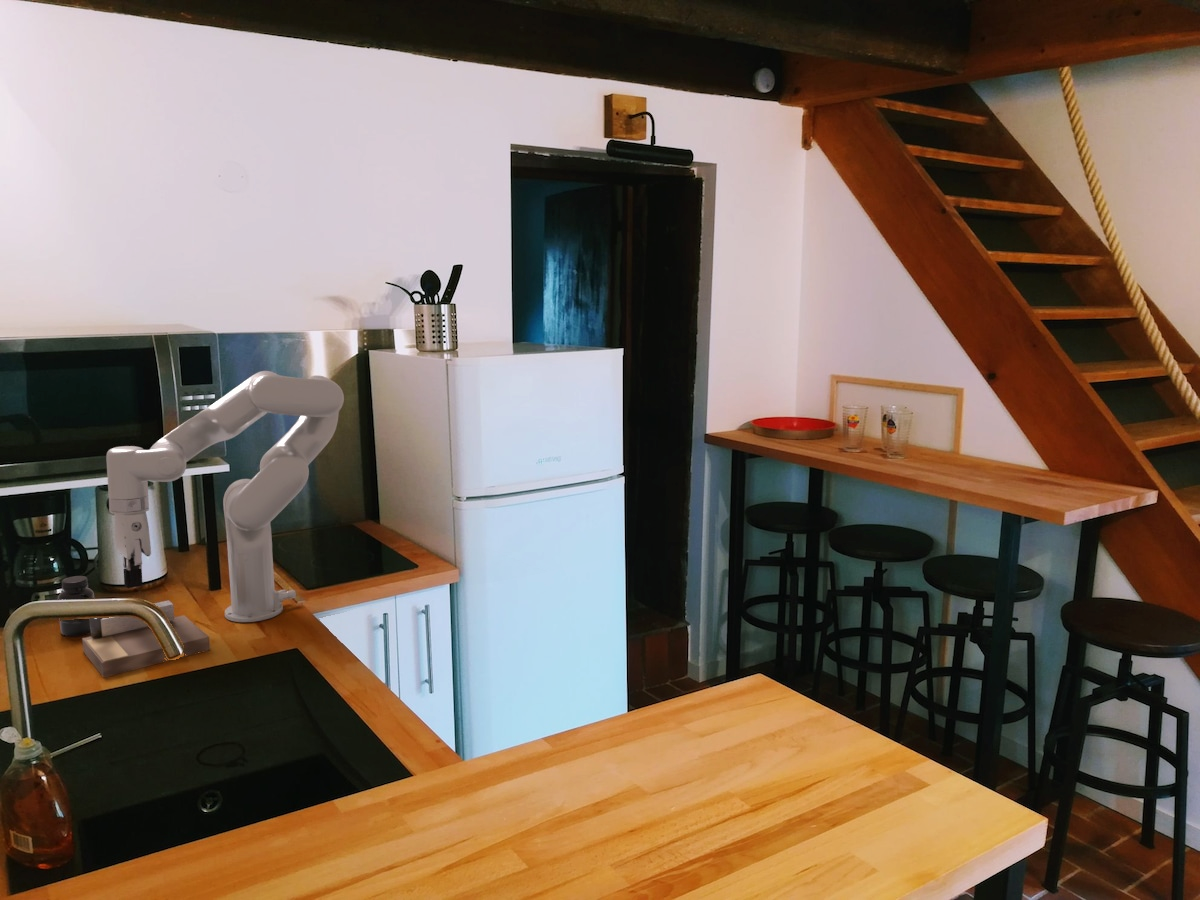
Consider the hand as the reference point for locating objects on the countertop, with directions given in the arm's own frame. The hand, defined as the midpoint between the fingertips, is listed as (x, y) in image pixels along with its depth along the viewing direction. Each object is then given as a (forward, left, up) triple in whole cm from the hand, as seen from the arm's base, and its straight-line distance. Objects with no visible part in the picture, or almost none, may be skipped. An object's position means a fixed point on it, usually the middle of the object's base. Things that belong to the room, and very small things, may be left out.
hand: (133, 585), depth 193 cm
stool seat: (+2, +13, -10) cm, 17 cm away
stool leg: (+3, +7, -7) cm, 10 cm away
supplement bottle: (+10, -8, -11) cm, 16 cm away
